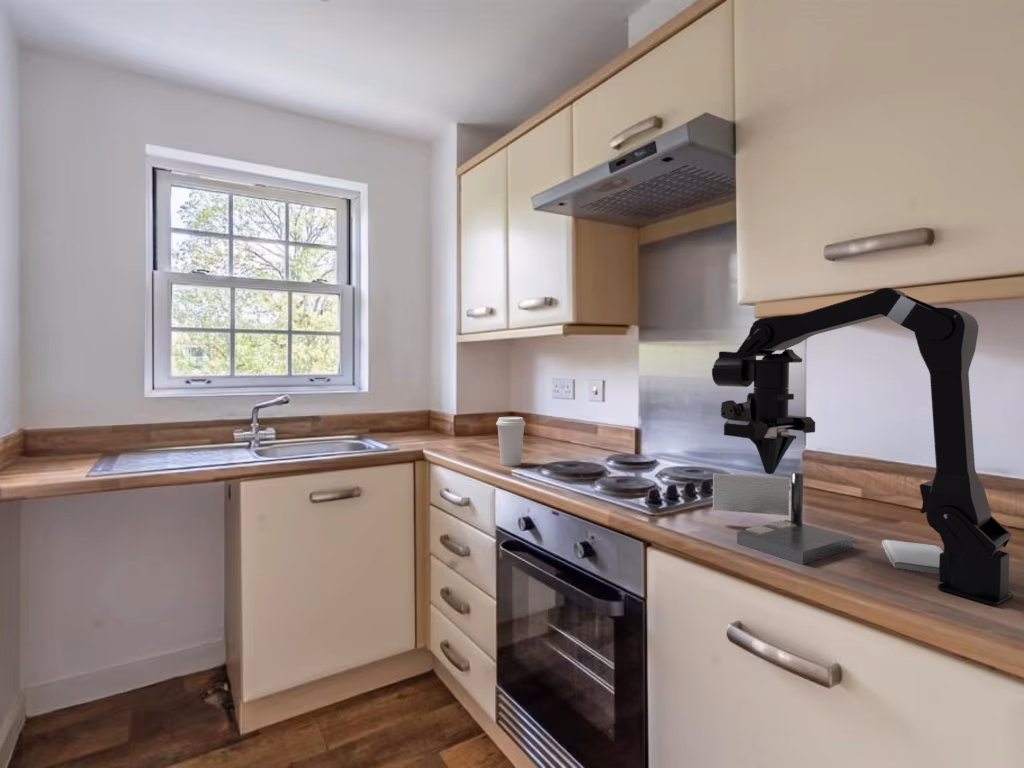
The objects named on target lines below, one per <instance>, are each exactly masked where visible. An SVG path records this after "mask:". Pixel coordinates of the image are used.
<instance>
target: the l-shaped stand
mask: <svg viewBox="0 0 1024 768" xmlns="http://www.w3.org/2000/svg"><path fill="white" fill-rule="evenodd" d="M790 480H791V483H790V485H791V486H790V495H791V496H790V520H789V519H785V520H783V519H781V520H776V521H772V522H769V523H767V524H765V525H757V526H751V527H748V528H745V529H743V530H740V531H737V532H736V544H738V545H742V546H744V547H748V548H751V549H754V550H757V551H759V552H763V553H766V554H769V555H772V556H776V557H779V558H781V559H784V560H787V561H790V562H794V563H797V564H799V565H802V566H803V565H805V564H809V563H812V562H815V561H818V560H821V559H825V558H827V557H829V556H833V555H836V554H839V553H843V552H845V551H846V552H847V551H849V550H852V549H853V548H854V545H853V544H854V536H852V535H848V534H845V533H844V534H843V533H840V532H835V531H832V530H828V529H825V528H821V527H817V526H813V525H809V524H806V523H803V521H804V519H803V516H804V514H803V513H804V509H803V507H804V473H802V472H796V471H795V472H791V479H790Z"/></svg>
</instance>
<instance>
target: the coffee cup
mask: <svg viewBox="0 0 1024 768" xmlns="http://www.w3.org/2000/svg"><path fill="white" fill-rule="evenodd" d="M495 425H496V427H497V435H498V445H499V446H498V448H499V457H500V465H501V466H506V467H507V466H509V467H516V466H521V465H522V454H523V442H524V432H525V426H526V425H527V424H526V421H525V420H524V417H521V416H500V417H498V419H497V421H496V423H495Z"/></svg>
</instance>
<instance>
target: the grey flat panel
mask: <svg viewBox="0 0 1024 768" xmlns="http://www.w3.org/2000/svg"><path fill="white" fill-rule="evenodd" d="M712 510H713V511H720V512H722V511H723V512H734V513H735V512H736V513H746V514H747V513H749V514H750V513H751V514H761V515H762V514H764V515H775V516H777V515H779V516H789V515H790V514H789V513H790V512H789V510H790V478H789V477H787V476H774V475H773V476H772V475H754V474H753V475H752V474H734V473H718V472H717V473H716V472H714V473H712Z"/></svg>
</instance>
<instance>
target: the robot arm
mask: <svg viewBox="0 0 1024 768" xmlns="http://www.w3.org/2000/svg"><path fill="white" fill-rule="evenodd" d="M883 317H886V318H888V319H889V320H891V321H893V322H894V323H896V324H897V325H900V326H901V327H904V328H906V329H908V330H910V331H911V332H913V333H914V337H915V339H916V343H917V346H918V350H919V354H920V356H921V358H922V359H923V361H924V364H925V365H926V366H925V367H926V368H927V370H928V372H929V379H930V394H931V397H930V398H931V407H932V408H931V410H932V411H931V412H932V424H933V439H934V442H933V443H934V454H935V455H934V457H935V458H934V459H935V475H934V477H933V479H932V480H929V481H926V482H923V483H921V484H919V490H920V494H921V498H922V505H921V506H922V507H921V509H920V511H919V512H920V513H921V514H925V517H926V521H927V523H928V525H929V527H931V529H933V530H934V531H935V532H936V533H938V534H939V536H940V539H941V541H942V543H943V547H944V548H943V552H942V553H940V557H939V574H938V581H939V582H940V583H939V584H937V589H938V590H941V591H942V592H947V593H951V594H954V595H957V596H960V597H963V598H967V599H971V600H974V601H977V602H980V603H984V604H987V605H991V606H999V605H1001V603H1004V602H1005V601H1007V600H1009V599H1011V598H1013V597H1014V591H1011V590H1009V577H1010V576H1009V575H1010V553H1009V552H1005V551H1002V549H1004V548H1006V547H1007V546H1008V544H1009V542H1010V540H1011V539H1012V536H1013V535H1012V533H1011V532H1010V531H1009V530H1008V529H1006V527H1005V526H1003V525H1002V524H1001V523H1000V522H999V521H998V520H997V519H996V518H995V517H994V516H992V513H991V512H992V510H991V508H990V504H989V500H988V497H987V494H986V491H985V488H984V486H983V484H982V482H981V479H980V477H979V475H978V473H977V471H976V466H975V464H976V463H975V451H974V450H975V449H974V435H973V421H972V405H971V390H970V377H969V375H970V374H969V372H970V367H971V365H972V362H973V358H974V356H975V352H976V348H977V347H976V346H977V341H978V334H979V324H978V321H977V320H976V317H974V316H973V315H971V314H970V313H968V312H966V311H964V310H960V309H955V308H949V307H937V306H934V305H931V304H929V303H927V302H924V301H921V300H918V298H917V299H916V298H914V297H912V296H910V295H907V294H905V292H903V291H901V290H898V289H894V288H889V287H883V288H879V289H877V290H875V291H874V292H869V293H867V294H863V295H861V296H857V297H854V298H850V299H847V300H844V301H839V302H837V303H833V304H831V305H827V306H823V307H819V308H817V309H814V310H810V311H807V312H806V311H805V312H803V313H797V314H786V315H777V316H768V317H761V318H758V319H756V320H755V321H753V322H752V325H751V327H750V329H749V334H748V335H747V337H746V338H745V339H744V341H743V342H742V344H741V345H740V346H739V348H738V349H737V351H719V352H718V357H717V358H716V360H715V361H714V364H713V365H712V368H711V376H712V380H713V382H714V384H715V385H716V386H718V387H733V388H734V387H737V388H739V387H741V388H748V387H750V386H751V385H752V383H753V392H749V393H748V394H747V395H746V401H743V402H740V403H739V402H738V403H737V402H735V400H733V399H732V400H725V401H722V402H721V406H720V416H721V418H723V419H724V420H727V421H725V422H724V423H723V435H724V436H728V437H737V438H742V439H749V441H751V442H752V443H753V444H754V445H755V447H756V450H757V451H758V454H759V457H760V460H761V464H762V466H763V469H764V472H765V474H768V475H773V474H774V473H775V472H776V470H777V468H778V466H779V464H780V463H781V461H782V459H783V457H784V455H785V454H786V453H787V451H788V449H789V447H790V446H791V444H792V443H793V441H794V440H796V439H797V435H793V434H792V435H790V431H789V430H793V431H798V432H799V431H800V432H803V433H804V434H810V433H816V422H815V420H814V419H813V418H812V417H810V416H804V415H803V416H801V415H792V414H791V415H789V401H791V400H792V401H794V400H795V394H794V393H789V391H790V390H789V389H790V388H789V386H790V385H789V384H790V383H789V382H790V363H793V364H794V363H802V362H803V359H802V358H801V357H800V356H799V355H797V353H796V352H794V350H793V349H790V348H792V347H794V346H796V345H799V344H801V343H802V342H804V341H806V340H807V339H809V338H811V337H813V336H815V335H819V334H824V333H826V332H831V331H834V330H839V329H842V328H846V327H849V326H853V325H857V324H861V323H865V322H868V321H872V320H876V319H880V318H883ZM777 351H778V352H779V351H782V352H781V353H775V352H777ZM757 357H762V358H761V359H757Z"/></svg>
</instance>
